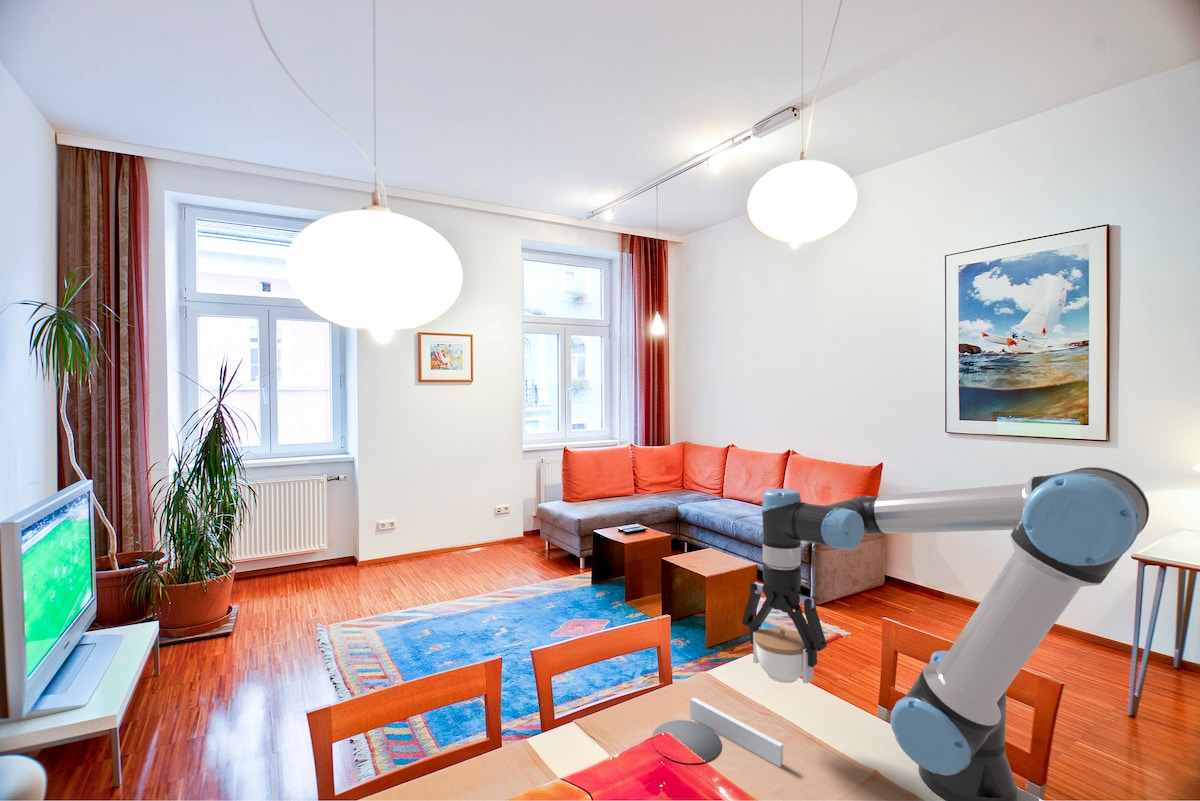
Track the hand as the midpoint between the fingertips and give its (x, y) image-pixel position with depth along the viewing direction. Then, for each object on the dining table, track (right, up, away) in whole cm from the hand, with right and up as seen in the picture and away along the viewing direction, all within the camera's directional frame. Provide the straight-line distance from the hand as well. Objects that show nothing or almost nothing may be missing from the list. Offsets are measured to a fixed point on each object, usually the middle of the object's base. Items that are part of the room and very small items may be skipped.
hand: (782, 670), depth 118 cm
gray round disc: (-20, -14, -1) cm, 25 cm away
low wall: (-10, -14, 0) cm, 17 cm away
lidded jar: (0, -1, 0) cm, 1 cm away
